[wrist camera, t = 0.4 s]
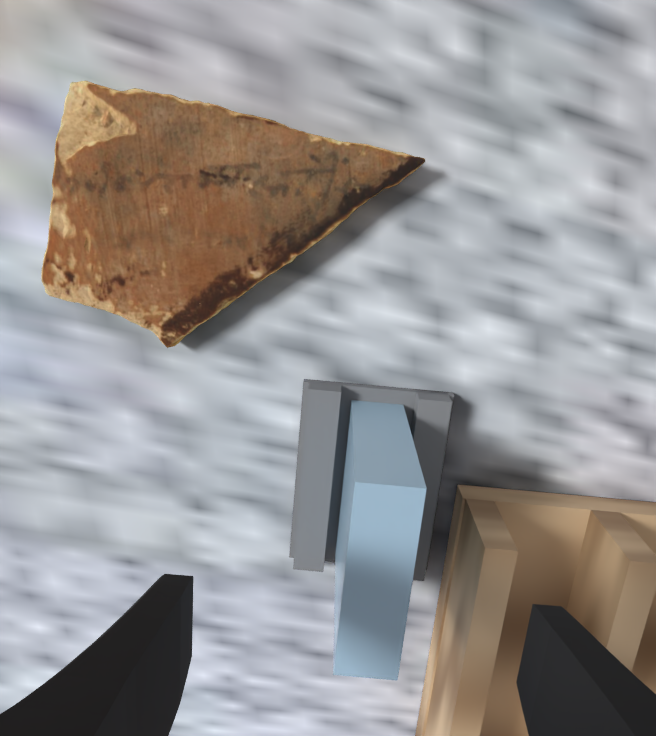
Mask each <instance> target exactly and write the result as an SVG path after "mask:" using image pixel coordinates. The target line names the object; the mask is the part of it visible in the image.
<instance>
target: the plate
mask: <svg viewBox="0 0 656 736" xmlns="http://www.w3.org/2000/svg"><path fill="white" fill-rule="evenodd" d="M426 489H427V488H426V485H425V481H424V477H423V474H422V470H421V467H420V463H419V459H418V456H417V452H416V449H415V445H414V441H413V438H412V434H411V431H410V427H409V423H408V420H407V416H406V413H405V409H404V406H403V405H401V404H390V403H379V402H368V401H357V400H351V409H350V418H349V428H348V437H347V447H346V456H345V465H344V475H343V484H342V494H341V503H340V513H339V522H338V531H337V541H336V551H335V606H334V662H333V675H342V676H354V677H365V678H376V679H387V680H398V673H399V667H400V660H401V653H402V647H403V640H404V634H405V627H406V621H407V614H408V607H409V601H410V594H411V588H412V581H413V575H414V568H415V561H416V555H417V548H418V542H419V535H420V529H421V522H422V515H423V509H424V502H425V496H426Z"/></svg>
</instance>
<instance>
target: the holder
mask: <svg viewBox="0 0 656 736" xmlns="http://www.w3.org/2000/svg"><path fill="white" fill-rule="evenodd" d="M351 400H357V401H368V402H379V403H390V404H401V405H403V406H404V409H405V413H406V416H407V420H408V423H409V427H410V431H411V434H412V438H413V441H414V445H415V449H416V452H417V456H418V459H419V463H420V467H421V470H422V474H423V477H424V481H425V485H426V488H427V489H426V496H425V502H424V509H423V515H422V522H421V529H420V535H419V542H418V548H417V555H416V561H415V568H414V575H413V580H419V581H424V576H425V570H427V564H428V558H429V552H430V545H431V539H432V533H433V527H434V520H435V514H436V508H437V501H438V495H439V489H440V483H441V476H442V470H443V464H444V458H445V451H446V445H447V439H448V432H449V426H450V420H451V414H452V407H453V401H454V394H453V393H450V392H439V391H428V390H418V389H407V388H396V387H385V386H374V385H363V384H352V383H341V382H330V381H319V380H308V379H304V383H303V395H302V408H301V420H300V432H299V445H298V457H297V470H296V482H295V494H294V507H293V519H292V532H291V544H290V556H289V557H291V558H294V566H293V569H297V570H308V571H319V572H323V569H324V561H335V551H336V541H337V531H338V522H339V513H340V503H341V494H342V484H343V475H344V465H345V456H346V447H347V437H348V428H349V418H350V409H351Z"/></svg>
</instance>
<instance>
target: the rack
mask: <svg viewBox="0 0 656 736" xmlns="http://www.w3.org/2000/svg"><path fill="white" fill-rule="evenodd" d="M533 604H540V605H552V606H562V607H563V608H564V609H565V610H566V611H567V612H569V613H570V614H571V615H572V616H573V617H574V618H575V619H576V620H577V621H578V622H579V623H580V624H581V625H582V626H583V627H584V628H585V629H587V630H588V631H589V632H590V633H591V634H592V635H593V636H594V637H595V638H596V639H597V640H598V641H599V642H600V643H601V644H602V645H603V646H604V647H605V648H606V649H607V650H608V651H609V652H610V653H612V654H613V655H614V656H615V657H616V658H617V659H618V660H619V661H620V662H621V663H622V664H623V665H624V666H625V667H626V668H627V669H629V670H630V671H631V672H632V673H633V674H634V675H635V676H636V677H637V678H638V679H639V680H640V681H642V682H643V683H644V684H645V685H646V686H647V687H648V688H649V689H651V690H652V691H653V692H654V693H655V694H656V502H645V501H634V500H623V499H612V498H601V497H590V496H579V495H568V494H557V493H546V492H535V491H523V490H512V489H501V488H490V487H479V486H468V485H457V491H456V497H455V503H454V509H453V515H452V521H451V527H450V533H449V539H448V545H447V551H446V556H445V562H444V568H443V574H442V580H441V586H440V592H439V598H438V604H437V610H436V616H435V622H434V628H433V634H432V639H431V645H430V651H429V657H428V663H427V669H426V675H425V681H424V687H423V693H422V699H421V705H420V711H419V716H418V722H417V728H416V734H415V736H529V734H528V731H527V727H526V723H525V719H524V715H523V711H522V706H521V702H520V697H519V693H518V688H517V684H516V681H517V676H518V671H519V667H520V662H521V657H522V652H523V648H524V643H525V638H526V633H527V629H528V624H529V619H530V614H531V610H532V605H533Z"/></svg>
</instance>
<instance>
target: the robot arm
mask: <svg viewBox="0 0 656 736" xmlns="http://www.w3.org/2000/svg"><path fill="white" fill-rule="evenodd" d="M192 617H193V576H184V575H172V574H164V575H163V576H161V577H160V578H159V579H158V580H157V581H156V582H155V583H154V584H153V585H152V586H151V587H150V588H149V589H148V590H147V591H146V592H145V593H144V594H143V596H142V597H141V598H140V599H139V600H138V601H137V602H136V603H135V604H134V605H133V606H132V607H131V608H130V609H129V610H128V611H127V612H126V613H125V614H124V615H123V616H122V617H120V618H119V619H118V620H117V621H116V622H115V623H114V624H113V625H112V626H111V627H110V628H109V629H108V630H107V631H106V632H105V633H104V634H102V635H101V636H100V637H99V638H98V639H97V640H96V641H95V642H94V643H93V644H91V645H90V646H89V647H88V648H87V649H86V650H84V651H83V652H82V653H81V654H80V655H79V656H77V657H76V658H75V659H74V660H73V661H72V662H70V663H69V664H68V665H67V666H66V667H65V668H63V669H62V670H61V671H60V672H58V673H57V674H56V675H55V676H53V677H52V678H51V679H49V680H48V681H47V682H46V683H44V684H43V685H42V686H40V687H39V688H38V689H36V690H35V691H34V692H32V693H31V694H29V695H28V696H27V697H25V698H24V699H23V700H21V701H20V702H18V703H17V704H15V705H14V706H12V707H11V708H9V709H8V710H6V711H5V712H3V713H1V714H0V736H168V735H169V732H170V729H171V727H172V724H173V721H174V719H175V716H176V713H177V710H178V708H179V705H180V701H181V697H182V693H183V690H184V686H185V682H186V678H187V674H188V669H189V665H190V661H191V657H192ZM516 684H517V688H518V693H519V697H520V702H521V706H522V711H523V715H524V719H525V723H526V727H527V731H528V734H529V736H656V694H655V693H654V692H653V691H652V690H651V689H649V688H648V687H647V686H646V685H645V684H644V683H643V682H642V681H640V680H639V679H638V678H637V677H636V676H635V675H634V674H633V673H632V672H631V671H630V670H629V669H627V668H626V667H625V666H624V665H623V664H622V663H621V662H620V661H619V660H618V659H617V658H616V657H615V656H614V655H613V654H612V653H610V652H609V651H608V650H607V649H606V648H605V647H604V646H603V645H602V644H601V643H600V642H599V641H598V640H597V639H596V638H595V637H594V636H593V635H592V634H591V633H590V632H589V631H588V630H587V629H585V628H584V627H583V626H582V625H581V624H580V623H579V622H578V621H577V620H576V619H575V618H574V617H573V616H572V615H571V614H570V613H569V612H567V611H566V610H565V609H564V608H563V607H562V606H552V605H540V604H533V605H532V610H531V614H530V619H529V624H528V629H527V633H526V638H525V643H524V648H523V652H522V657H521V662H520V667H519V671H518V676H517V681H516Z"/></svg>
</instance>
